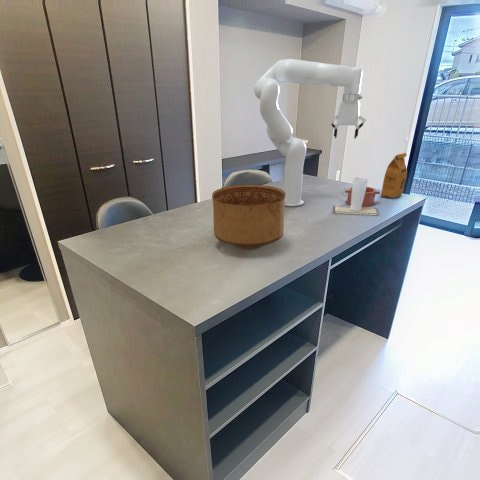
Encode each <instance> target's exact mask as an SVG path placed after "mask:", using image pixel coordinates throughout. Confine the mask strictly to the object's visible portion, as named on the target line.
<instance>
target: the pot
mask: <svg viewBox="0 0 480 480" xmlns="http://www.w3.org/2000/svg"><path fill="white" fill-rule="evenodd" d="M285 197H286V193H285V192H284V191H283V189H282V188H278V187H274V186H271V185H262V184H238V185H230V186H225V187H221V188H219V189H216V190H214V191H213V192H212V194H211V198H212V209H213V210H212V213H213V235H214V238H216V239H217V240H218V241H220V242H222V243H224V244H227V245H230V246H234V247H238V248H241V249H247V250H248V249H249V250H250V249H257V248H259V247H264V246H266V245H269V244H273V243H276V242H277V241H279V240H280V239H281V238H283V236H284V230H285V206H284V205H285Z"/></svg>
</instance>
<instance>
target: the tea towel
mask: <svg viewBox="0 0 480 480" xmlns="http://www.w3.org/2000/svg"><path fill="white" fill-rule="evenodd" d="M350 206H351V205H334V214H340V215H342V214H343V215H357V216H359V215H360V216H361V215H362V216H378V212H377V209H376V207H373V206H368V207H361V210H360V211H352V210H351V209H350Z"/></svg>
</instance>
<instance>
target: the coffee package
mask: <svg viewBox="0 0 480 480" xmlns="http://www.w3.org/2000/svg"><path fill="white" fill-rule="evenodd" d="M405 157H407V153H406V152H403V153H398V154H396V155H394V157H393V158H392V160H391V161H390V162H389V164H388V165H387V167H386V170H385V173H384V177H383V182H382V186H381V187H382V188H381V191H380V197H381V198H390V199H395V198H396V197H400V196H402V195H403V194H404V190H405V185H406V181H407V177H408V168H407V165H406V162H405V161H406V160H405Z"/></svg>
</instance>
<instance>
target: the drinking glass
mask: <svg viewBox="0 0 480 480" xmlns="http://www.w3.org/2000/svg"><path fill="white" fill-rule="evenodd" d="M368 180H369V179H368V177H363V176H357V177H354V178H353V180H352V183H351V187H352V195H351V205H349V206H350V209H351V210H352V211H360V210H361V207H362V203H363V199H364V195H365V192H366V188H367V187H368V182H369V181H368Z"/></svg>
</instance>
